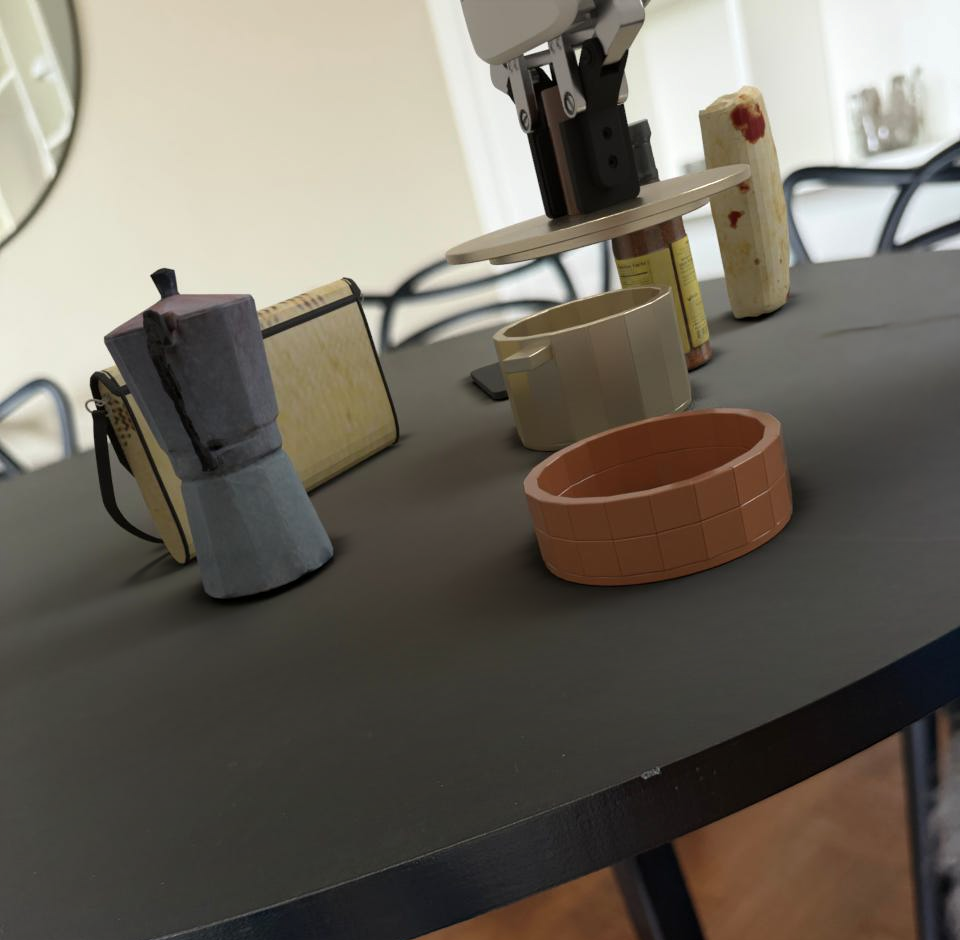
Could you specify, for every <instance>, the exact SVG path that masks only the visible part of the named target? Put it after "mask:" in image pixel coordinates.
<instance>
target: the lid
mask: <svg viewBox="0 0 960 940" xmlns="http://www.w3.org/2000/svg"><path fill="white" fill-rule="evenodd" d="M541 97H542V101H543V106H544V110H545V115H546V119H547V124H548V128H549V133H550V137H551V142H552V146H553V151H554V155H555V160H556V164H557V169H558V173H559V177H560V182H561V186H562V191H563V195H564V200H565V204H566V209H567V213H568V215H566V216H563V217H560V218H556V219H549V218H548V217H547V216H546V214H545V213H544V214H541V215H538V216H535V217H532V218H530V219H526V220H523V221H520V222H517V223H514V224H511V225H508V226H505V227H502V228H500V229H497V230H493V231H491V232H488V233H486V234H482V235H480V236H477V237H475V238H472V239H470V240H468V241H464V242H463V243H460V244H458V245H456V246H453V247H451V248H450V249H448V250H447V251H445V253H444V256H445V260H446V263H447V265H451V266H458V265H468V264H474V263H479V262H480V263H481V262H485V261H489V264H490V265H492V266H504V265H513V264H517V263H523V262H529V261H534V260H538V259H542V258H546V257H550V256H554V255H559V254H562V253H567V252H571V251H575V250H578V249H582V248H586V247H589V246H593V245H596V244H600V243H604V242H607V241H611V239H614V238H617V237H621V236H624V235H627V234H631V233H634V232H637V231H640V230H643V229H646V228H649V227H652V226H655V225H658V224H661V223H664V222H667V221H670V220H672V219H675V218H678V217H680V216H682V217H683V216H686V215H688V214H690V213H692V212H695V211H697V210H699V209H701V208H703V207H705V206H707V204H709V203H710V200H709V196H712V195H714V194H717V193H719V192H722V191H725V190H727V189H729V188H732V187H734V186H736V185H738V184H740V183H742V182H744V181H746V180H747V179H749V178H750V177H751V170H750V165H748V164H736V165H730V166H724V167H719V168H714V169H709V170H706V169H705V170H704V169H703V170H700V171H696V172H692V173H687V174H683V175H680V176H679V175H678V176H675V177H671V178H667V179H663V180H660V181H659V182H655V183H652V184H648V185H644V186H640V193H639V195H638V196H637V197H636V198H633V199H630V200H627V201H624V202H621V203H618V204H615V205H612V206H609V207H606V208H603V209H600V210H597V211H594V212H591V213H585V214H583V213H580V212H579V211H578V209H577V206H576V201H575V197H574V192H573V188H572V183H571V179H570V174H569V170H568V165H567V161H566V156H565V151H564V147H563V142H562V138H561V133H560V129H559V124H558V123H560V122H563V121H566V120H569V119H573V118H569V117H568V116H567V115H566V113H565V111H564V108H563V104H562V100H561V96H560V92H559V87H558V85H556V86H553V87H551V88H548V89H545V90H543V91H541Z"/></svg>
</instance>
